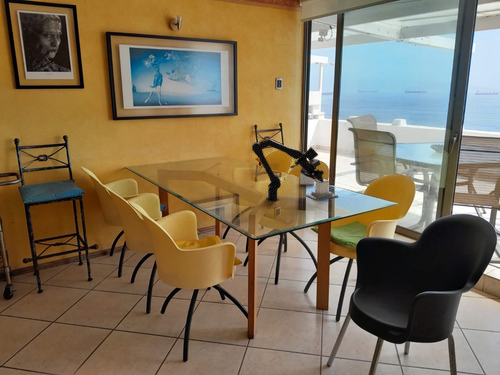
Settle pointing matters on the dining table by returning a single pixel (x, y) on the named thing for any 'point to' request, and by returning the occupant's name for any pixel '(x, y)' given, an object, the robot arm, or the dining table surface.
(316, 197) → the socket board
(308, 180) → the photo printer
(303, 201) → the dining table surface
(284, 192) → the dining table surface
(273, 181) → the robot arm
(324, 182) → the plug
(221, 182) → the dining table surface
